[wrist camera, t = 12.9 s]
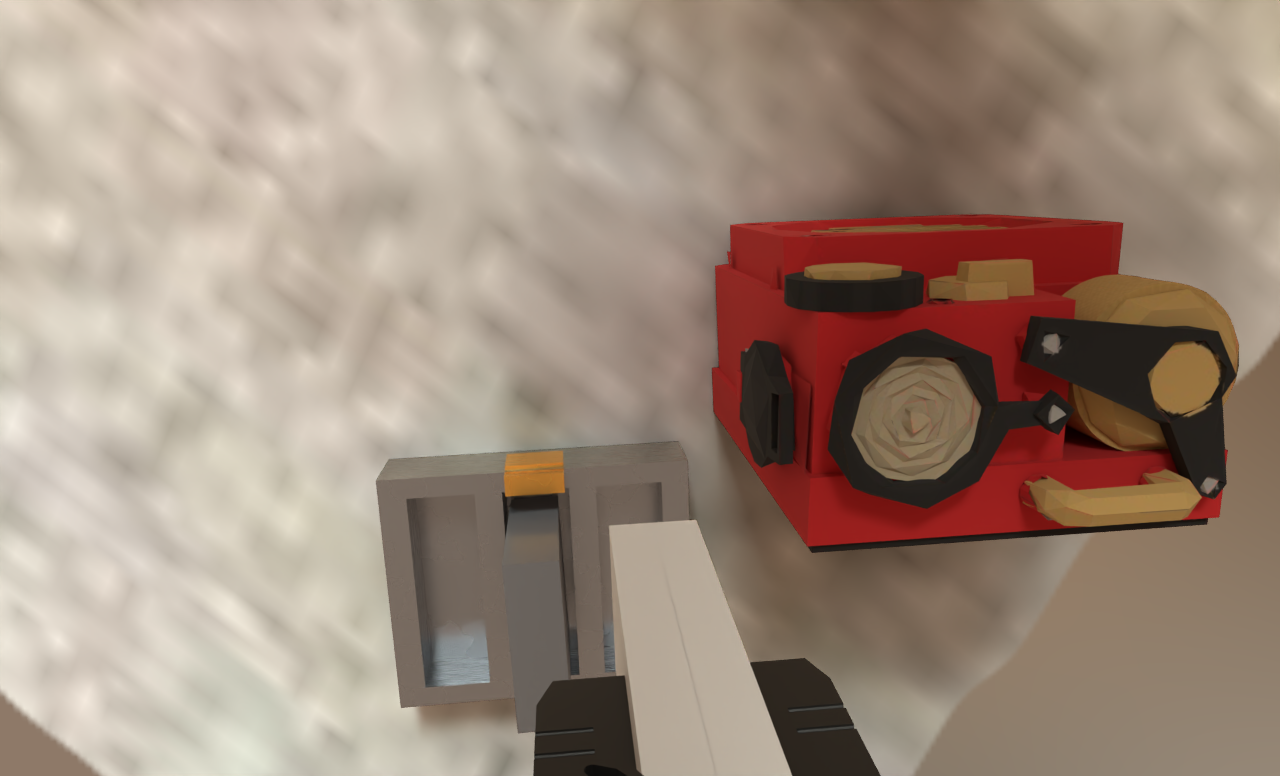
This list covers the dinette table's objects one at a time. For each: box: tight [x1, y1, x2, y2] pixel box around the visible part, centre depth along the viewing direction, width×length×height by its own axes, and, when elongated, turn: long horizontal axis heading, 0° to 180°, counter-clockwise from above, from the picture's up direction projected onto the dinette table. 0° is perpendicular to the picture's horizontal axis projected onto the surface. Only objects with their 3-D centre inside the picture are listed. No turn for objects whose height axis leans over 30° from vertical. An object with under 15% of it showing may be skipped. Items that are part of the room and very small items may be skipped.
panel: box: [502, 496, 571, 733], centre depth 42 cm, size 8×2×8 cm, turn 3°
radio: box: [712, 214, 1239, 553], centre depth 35 cm, size 16×10×20 cm, turn 92°
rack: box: [376, 441, 689, 708], centre depth 44 cm, size 12×15×4 cm
